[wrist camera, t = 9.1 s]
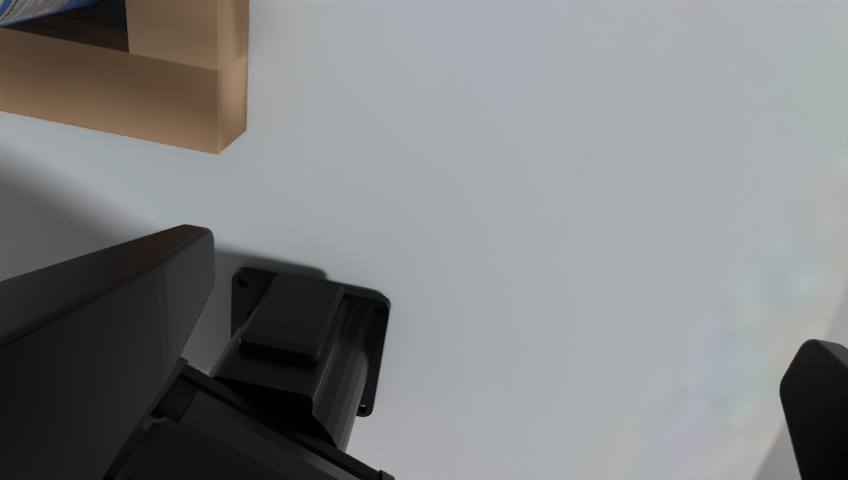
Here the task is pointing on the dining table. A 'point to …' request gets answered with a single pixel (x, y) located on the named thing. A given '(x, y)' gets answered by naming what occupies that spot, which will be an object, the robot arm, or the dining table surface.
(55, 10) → the pill bottle
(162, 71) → the socket block
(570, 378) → the dining table surface
